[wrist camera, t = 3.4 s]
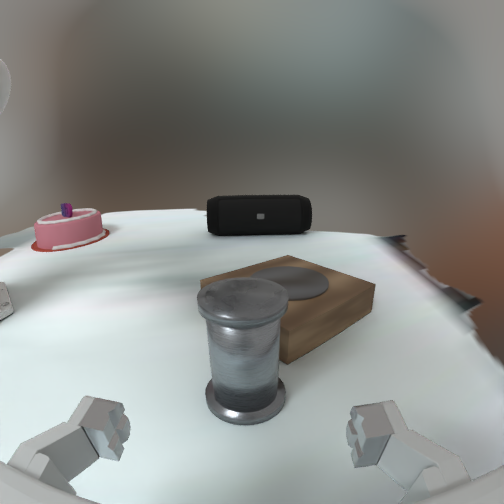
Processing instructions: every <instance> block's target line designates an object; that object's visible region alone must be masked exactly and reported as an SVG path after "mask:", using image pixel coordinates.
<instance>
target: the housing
mask: <svg viewBox="0 0 504 504" xmlns="http://www.w3.org/2000/svg"><path fill="white" fill-rule="evenodd" d="M288 300H289V295H288V292H287V290H286V289H285V288H284V287H283V286H281V285H280V284H277V283H275V282H273V281H269V280H265V279H260V278H250V277H239V278H229V279H224V280H219V281H216V282H213V283H211V284H209V285H207V286H205V287H204V288H202V289H201V290H200V291H199V293H198V295H197V302H198V311H199V313H200V314H201V316H202V317H204V318H205V319H206V324H207V335H208V345H209V355H210V365H211V374H212V379H211V380H210V381H209V383H208V385H207V387H206V393H205V394H206V401H207V405H208V408H209V409H210V411H211V412H212V413H213V414H214V415H215V416H216V417H218V418H219V419H221V420H223V421H225V422H228V423H231V424H236V425H254V424H259V423H263V422H265V421H268V420H269V419H271V418H273V417H274V416H276V415H277V414H278V413H279V412H280V411H281V409H282V407H283V406H284V402H285V393H286V392H285V386H284V384H283V382H282V381H281V379H280V378H279V377H278V369H279V347H280V323H281V317H282V316H283V315H285V313H286V312H287V310H288Z"/></svg>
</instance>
